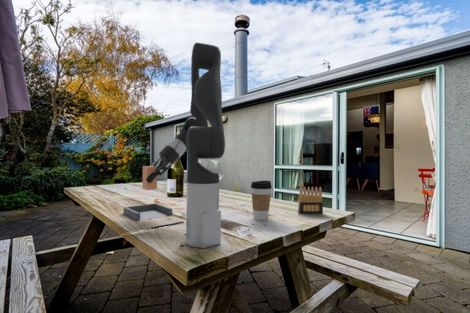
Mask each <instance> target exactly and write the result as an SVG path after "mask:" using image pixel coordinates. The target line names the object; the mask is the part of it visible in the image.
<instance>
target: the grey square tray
mask: <svg viewBox="0 0 470 313" xmlns="http://www.w3.org/2000/svg"><path fill="white" fill-rule="evenodd" d="M123 214H124V215H126V216H127V217H130V218H132V219H134V220H135V221H143V220H150V219H156V218H162V217H168V216H173V208H171V207H170V206H169V207H168V206H166V205H162V204H159V203H156V202H155V203H148V204H147V203H145V204H138V205H129V206H124V207H123Z"/></svg>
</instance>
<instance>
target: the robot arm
mask: <svg viewBox="0 0 470 313" xmlns="http://www.w3.org/2000/svg"><path fill="white" fill-rule="evenodd" d="M190 62H191V68H190V70H191V72H190V73H191V74H190V75H191V76H190V79H191V82H190V83H191V101H190V109H189V112H190V115H191V117H189V118H187V119H186V120H185V122H184V124H183V125H182V128H181V130H180V132H179V133H178V134H177V135H176V136H175V137H174V138H173V139H172V140H170V141H169V142H168V143H167V144H165V146H164V147H163V148H162V149H161V150H160V151H159V152H158V153H159V156H160V157H159V158H157V159H156V160H152V162H150V164H149V165H148V166H155V168H156V169H155V170H154V171H153V173H151V174H150V175H149V176H148V177H147V178H146V181H147V182H148V183H151V182H152V181H153V180H154V179H155V178H156V176H157V177H160V176H163V175H164V174H165V173H166V172H167V171H168V170H169V169H170V168H171V167H172V165H173V166H174V164H175V163H176V162H177V161H178V160H179V159H180V158H181V157H182V156H183V155H184V154H185V152H186V157H187V158H186V159H187V160H186V161H187V164H186V165H187V171H186V174H187V175H186V219H185V220H186V224H185V226H186V227H185V230H186V231H185V232H186V233H185V235H186V238H185V242H186V243H185V244H186V245H187V246H190V247H194V248H200V249H206V248H209V247H214V246H217V245H219V244H221V243H222V242H221V240H222V238H221V230H222V227H221V226H222V211H221V209H219V208H220V174H219V172H218V171H215V170H213V169H209V168H207V167H205V166H203V164H201V163H200V162H199V159H200V160H201V159H202V160H203V159H205V160H207V159H209V160H210V159H212V160H215V159H221V158H223V156H224V154H225V149H226V140H225V131H224V130H225V129H224V122H223V121H224V119H223V112H222V111H223V109H222V108H223V107H222V106H223V103H222V102H223V97H222V96H223V94H222V93H223V92H222V83H221V80H222V79H221V64H222V53H221V49H220V47H219V46H217V45H213V44H209V43H208V44H207V43H203V42H195V43H194V44H193V47H192V50H191V61H190ZM200 70H203V71H204V70H205V71H206V72H205V73H203V74H202V75H201V76H200ZM209 124H210V126H209ZM140 180H141V181H142V182H143V175H142V176H141V177H140Z"/></svg>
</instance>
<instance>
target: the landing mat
mask: <svg viewBox="0 0 470 313" xmlns="http://www.w3.org/2000/svg"><path fill="white" fill-rule="evenodd" d="M184 223H185V222H184V221H178V222H172V223H167V224H162V225H157V226H151V227H150V229H151V228H152V229H151V230H154V229H153V228H155V229H160V228H159V227H161V228H164V226H166V227H170V226H176V225H180V224H184Z"/></svg>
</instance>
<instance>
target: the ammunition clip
mask: <svg viewBox="0 0 470 313" xmlns="http://www.w3.org/2000/svg"><path fill="white" fill-rule="evenodd" d="M322 191H323V190H322V187H321V186H319V188H318V187H317V186H315V189H314V186H311V189H310V186H307V187H306V186H304V187H302V186H300V187H299V196H298V206H297V208H298V209H297V210H298V211H297V213H298V214H300V215H323V214H324V210H323V209H324V207H323V206H324V203H323V194H322V193H323V192H322ZM305 213H307V214H305Z"/></svg>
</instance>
